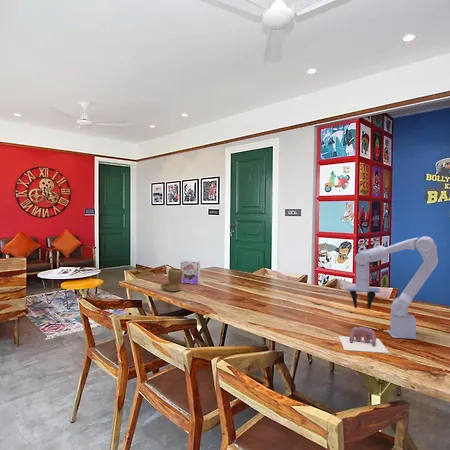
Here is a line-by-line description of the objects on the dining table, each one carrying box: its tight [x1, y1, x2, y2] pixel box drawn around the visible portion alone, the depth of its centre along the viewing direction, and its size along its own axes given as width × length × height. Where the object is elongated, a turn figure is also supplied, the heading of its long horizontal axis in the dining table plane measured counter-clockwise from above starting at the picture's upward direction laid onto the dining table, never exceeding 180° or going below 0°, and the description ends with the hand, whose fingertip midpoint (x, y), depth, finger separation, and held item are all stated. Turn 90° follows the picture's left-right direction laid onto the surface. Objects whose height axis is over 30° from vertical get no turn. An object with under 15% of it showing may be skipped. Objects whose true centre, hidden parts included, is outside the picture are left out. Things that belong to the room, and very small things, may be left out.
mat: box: [338, 335, 390, 354], centre depth 132 cm, size 16×14×1 cm
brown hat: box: [160, 267, 183, 292], centre depth 225 cm, size 15×12×15 cm
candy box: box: [180, 260, 201, 285], centre depth 246 cm, size 14×6×16 cm, turn 73°
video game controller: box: [349, 326, 377, 346], centre depth 134 cm, size 10×5×7 cm, turn 65°
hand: (362, 307), depth 150 cm, fingers open, 5 cm apart
